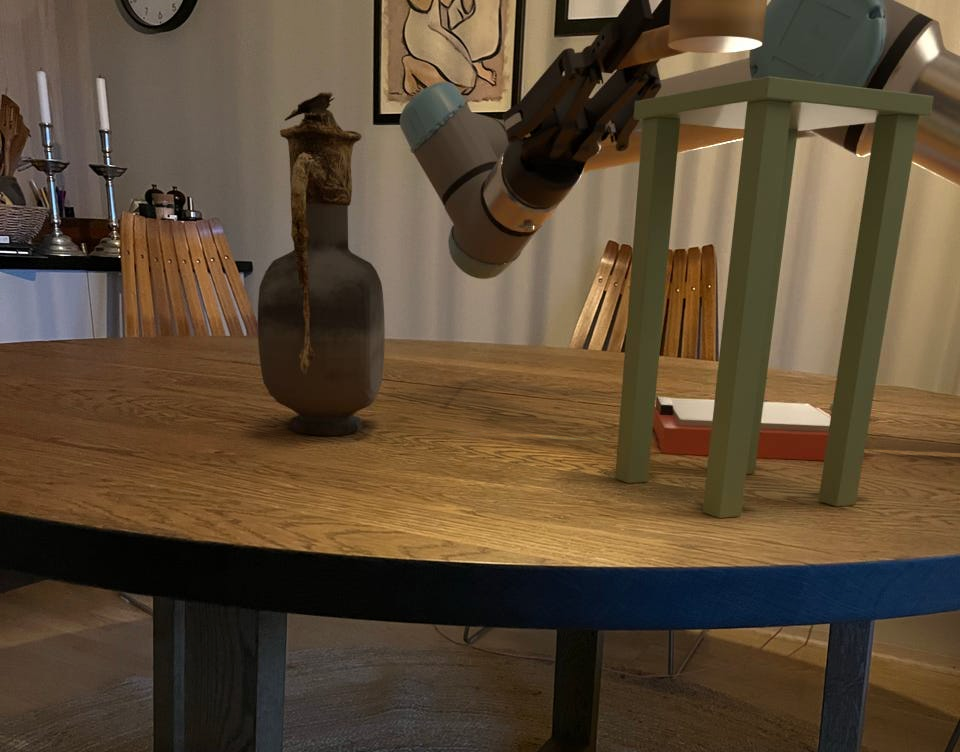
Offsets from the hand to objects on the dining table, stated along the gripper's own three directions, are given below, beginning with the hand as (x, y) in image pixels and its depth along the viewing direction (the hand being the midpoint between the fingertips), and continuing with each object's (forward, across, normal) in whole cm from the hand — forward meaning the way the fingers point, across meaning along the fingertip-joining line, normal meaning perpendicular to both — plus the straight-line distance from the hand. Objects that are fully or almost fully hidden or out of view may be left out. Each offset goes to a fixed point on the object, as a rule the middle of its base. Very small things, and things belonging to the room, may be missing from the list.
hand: (660, 5), depth 83 cm
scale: (-20, -16, -30) cm, 40 cm away
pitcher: (-34, +23, -22) cm, 47 cm away
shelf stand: (-4, 0, -39) cm, 39 cm away
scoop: (-1, 0, -4) cm, 4 cm away
